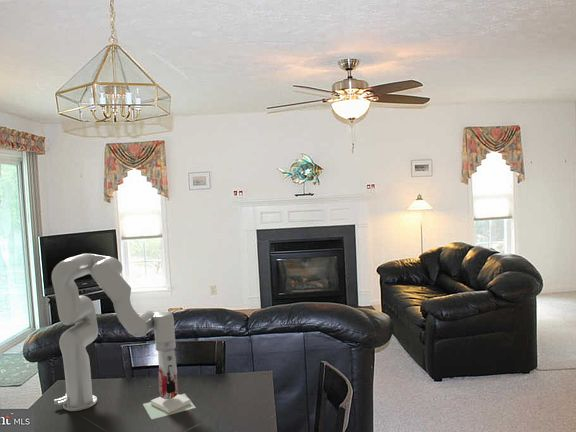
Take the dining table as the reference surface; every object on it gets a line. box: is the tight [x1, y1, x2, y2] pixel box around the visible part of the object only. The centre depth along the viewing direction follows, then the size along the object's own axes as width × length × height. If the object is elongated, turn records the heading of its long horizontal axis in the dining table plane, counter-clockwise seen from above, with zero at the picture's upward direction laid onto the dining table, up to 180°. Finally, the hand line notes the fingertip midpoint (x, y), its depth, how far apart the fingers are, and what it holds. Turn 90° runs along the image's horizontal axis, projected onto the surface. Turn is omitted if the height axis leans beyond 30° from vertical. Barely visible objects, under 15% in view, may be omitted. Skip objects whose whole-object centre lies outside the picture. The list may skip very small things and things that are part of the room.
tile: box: [150, 393, 191, 414], centre depth 201 cm, size 2×12×10 cm
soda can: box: [158, 368, 179, 399], centre depth 200 cm, size 7×7×12 cm
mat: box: [142, 393, 197, 420], centre depth 200 cm, size 17×15×1 cm
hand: (168, 388), depth 200 cm, fingers closed on soda can, 7 cm apart
